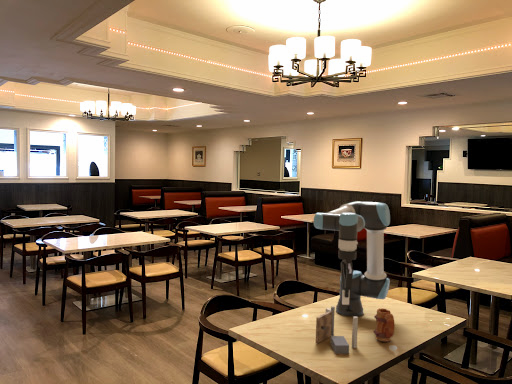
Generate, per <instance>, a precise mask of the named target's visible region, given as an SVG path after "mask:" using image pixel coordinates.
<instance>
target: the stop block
mask: <svg viewBox="0 0 512 384" xmlns="http://www.w3.org/2000/svg"><path fill="white" fill-rule="evenodd" d="M330 346H331V348H332V350H333V352H334V354H336V355H339V354H340V355H341V354H342V355H343V354H344V355H346V354H347V355H349V354H350V343H348V341H347V339H346V338H345V335H337V336H336V335H334V336H330Z"/></svg>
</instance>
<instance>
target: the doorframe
mask: <svg viewBox="0 0 512 384" xmlns="http://www.w3.org/2000/svg"><path fill="white" fill-rule="evenodd" d="M329 311H332V328H331V336H335V335H334V334H335V312H336V306H331V307H330V308H329V307H328V308H325V313H327V312H329ZM358 326H359V316H352V330H351V331H352V333H351V334H352V335H351V348H353V349H356V348H357V347H358V331H359V330H358V328H359V327H358ZM331 336H330V337H331Z"/></svg>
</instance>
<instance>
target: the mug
mask: <svg viewBox="0 0 512 384" xmlns="http://www.w3.org/2000/svg"><path fill="white" fill-rule="evenodd" d="M374 319H375V320H376V323H375V324H376V325H375V329H374V330H373V331H372V332H373V333H374V336H375V338H376V340H377V341H380V342H385V343H386V342H390V341H391V338H393V335H394V333H395V328H396V327H395V317H394V315H393V314H392V313H391V310H389V309H387V308H378V309H377V310H376V314H375V315H374Z"/></svg>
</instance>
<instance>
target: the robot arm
mask: <svg viewBox="0 0 512 384" xmlns="http://www.w3.org/2000/svg"><path fill="white" fill-rule="evenodd" d="M390 213H391V211H390V209H389V206H388V204H386V203H384V202H379V201H378V202H376V201H375V202H373V201H352V202H348V203H344V204H342V205H341V206H339V207H338V208H336V209H334V210H331V211H328V212H316V213H315V214H314V216H313V226H314V228H315V229H318V230H327V231H337V232H338V245H337V246H338V252H337V254H338V255H337V256H338V257H337V258H338V259H339V260H342V261H341V262H340V263H339V264H340V271H341V272H340V277H339V278H340V279H339V298H338V301H337V304H336V306H335V312H336V313H337V314H339V315H341V316H345V317H355V316H356V317H360V316H363V315H364V308H363V304H362V303H363V302H362V300H361V297H364V298H371V299H376V300H385V299H386V298H387V295H388V293H389V288H390V283H391V280H390V278H389V277H387V273H386V272H385V271H384V269H385V268H384V260H385V259H384V256H385V255H384V244H385V242H384V241H385V239H384V238H385V236H384V234H385V233H384V232H385V230H386V229H387V227H388V226H389V225H390V224H391V214H390ZM363 229H365V230H366V271H365V272H364V274H363V273H362V271H360V270H354V268H353V265H354V264H353V261H355V260H357V249H358V248H357V246H358V244H359V242H358V232H361V231H362V230H363Z"/></svg>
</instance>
